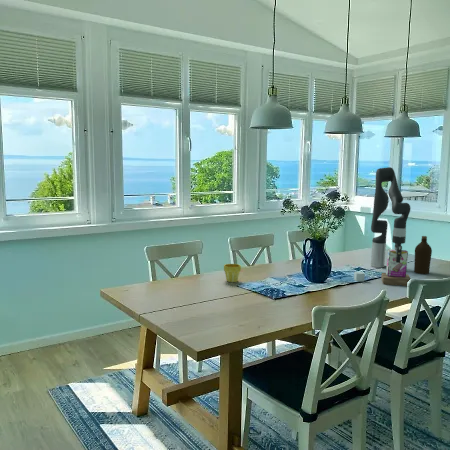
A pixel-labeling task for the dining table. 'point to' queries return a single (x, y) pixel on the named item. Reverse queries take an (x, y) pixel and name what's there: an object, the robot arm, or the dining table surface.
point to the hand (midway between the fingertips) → (397, 261)
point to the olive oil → (422, 257)
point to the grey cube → (359, 276)
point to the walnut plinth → (395, 280)
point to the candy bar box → (396, 264)
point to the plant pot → (232, 272)
